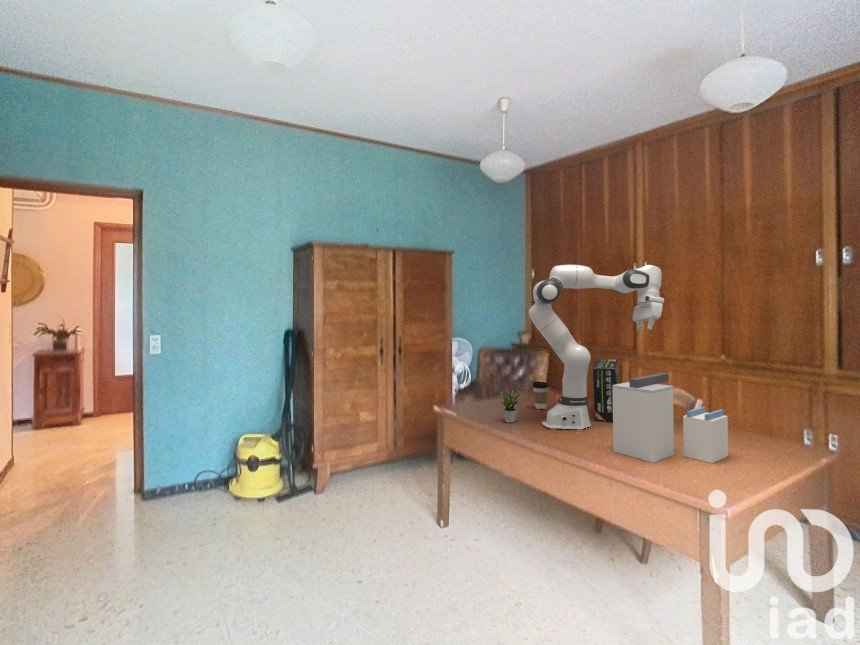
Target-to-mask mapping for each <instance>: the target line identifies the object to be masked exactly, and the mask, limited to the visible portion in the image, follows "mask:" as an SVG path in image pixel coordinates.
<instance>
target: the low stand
mask: <svg viewBox="0 0 860 645" xmlns="http://www.w3.org/2000/svg"><path fill="white" fill-rule="evenodd" d="M728 417H729V416H728V415H725V410H724V409H717V410H713V411H711V412H707V407H706V406H700V407H697V408H693V409H691V410H687V411H686V414H685V415H683V416H682V424H683V425H682V426H683V428H682V431H683V432H682V434H683V437H682V438H683V439H682V440H683V457H685V458H690V459H693V458H694V460H697V459H698V460H697V461H701V460H702V462H706V463H710V464H714V463H716V462H719V461H721V460H723V459H726V458H727V456H728V457H729V420H728V419H729V418H728Z"/></svg>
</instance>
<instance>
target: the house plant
mask: <svg viewBox="0 0 860 645" xmlns="http://www.w3.org/2000/svg"><path fill="white" fill-rule="evenodd" d="M500 394H501V395H500ZM500 394H499V397H501V399H503V401H499V402H498V404H502V405H503V406H504V407H505V408H503V409H502V412H503V416H504V421H505V420H509V421H514V420H516V421H517V416H518V409H517V407H516V406H515V405H518V404H520V405H522V402H520V399H518V400H517V398H520V396H521V395H523V394H524V392H523V391H522V392H520V393H518V394H517V395H515V396H514V389H512V390H511V393H510V392H509V390H507V394H506V395H505V393H503V392H502V391H500ZM507 395H508V396H507Z"/></svg>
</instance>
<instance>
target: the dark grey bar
mask: <svg viewBox="0 0 860 645" xmlns="http://www.w3.org/2000/svg"><path fill="white" fill-rule="evenodd" d="M628 380H629V381H628V382H629V383H630V387H633V388H640V387H644V386H649V385H653V384H661V383H667V382H669V381H670V380H669V373H666V372H659V373H654V374H649V375H644V376H639V377H633V378H630V379H628Z"/></svg>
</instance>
